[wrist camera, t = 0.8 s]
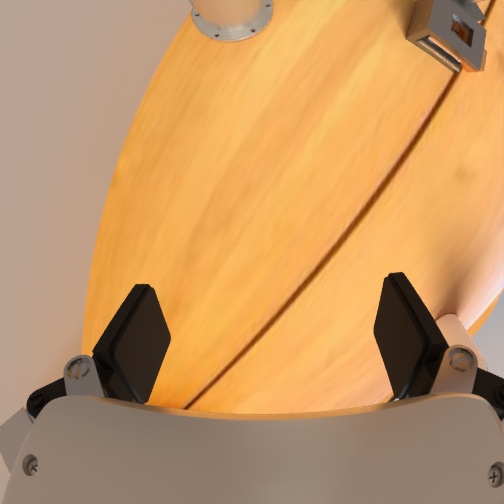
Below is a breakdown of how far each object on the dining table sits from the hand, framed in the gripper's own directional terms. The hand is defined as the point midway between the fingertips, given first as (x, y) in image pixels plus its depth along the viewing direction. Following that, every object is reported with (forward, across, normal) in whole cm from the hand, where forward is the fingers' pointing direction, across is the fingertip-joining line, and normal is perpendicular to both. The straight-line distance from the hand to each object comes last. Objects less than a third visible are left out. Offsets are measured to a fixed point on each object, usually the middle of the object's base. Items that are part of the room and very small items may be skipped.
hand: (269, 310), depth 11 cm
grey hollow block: (+35, -32, -25) cm, 54 cm away
